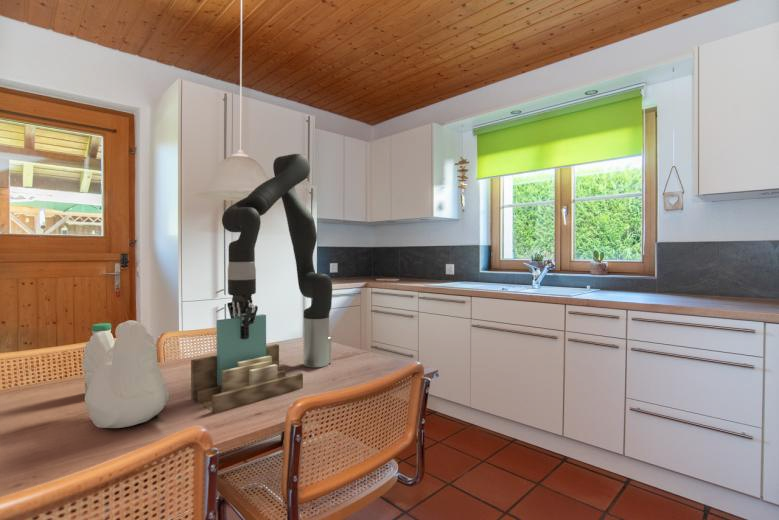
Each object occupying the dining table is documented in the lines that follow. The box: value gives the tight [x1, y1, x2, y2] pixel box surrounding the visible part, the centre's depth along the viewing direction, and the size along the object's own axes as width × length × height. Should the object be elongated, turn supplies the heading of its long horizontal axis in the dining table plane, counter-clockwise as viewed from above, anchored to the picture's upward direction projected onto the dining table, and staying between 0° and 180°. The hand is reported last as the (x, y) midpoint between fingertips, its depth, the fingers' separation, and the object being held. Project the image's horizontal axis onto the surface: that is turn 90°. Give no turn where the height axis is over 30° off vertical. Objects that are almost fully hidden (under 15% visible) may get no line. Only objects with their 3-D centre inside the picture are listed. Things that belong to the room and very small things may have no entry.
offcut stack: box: [222, 356, 277, 393], centre depth 114 cm, size 15×4×9 cm, turn 138°
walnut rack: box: [190, 343, 304, 414], centre depth 115 cm, size 26×14×12 cm, turn 138°
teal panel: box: [216, 313, 267, 386], centre depth 117 cm, size 14×2×18 cm, turn 138°
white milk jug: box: [81, 319, 171, 429], centre depth 100 cm, size 25×16×25 cm, turn 54°
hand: (242, 337), depth 117 cm, fingers closed on teal panel, 2 cm apart
